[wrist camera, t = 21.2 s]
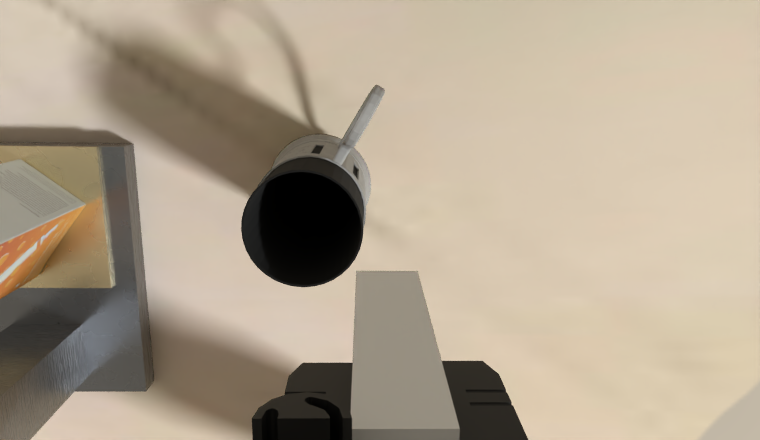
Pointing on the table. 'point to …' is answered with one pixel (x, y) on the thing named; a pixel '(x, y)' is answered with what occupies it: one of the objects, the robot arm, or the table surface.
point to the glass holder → (311, 206)
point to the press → (78, 292)
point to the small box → (30, 222)
